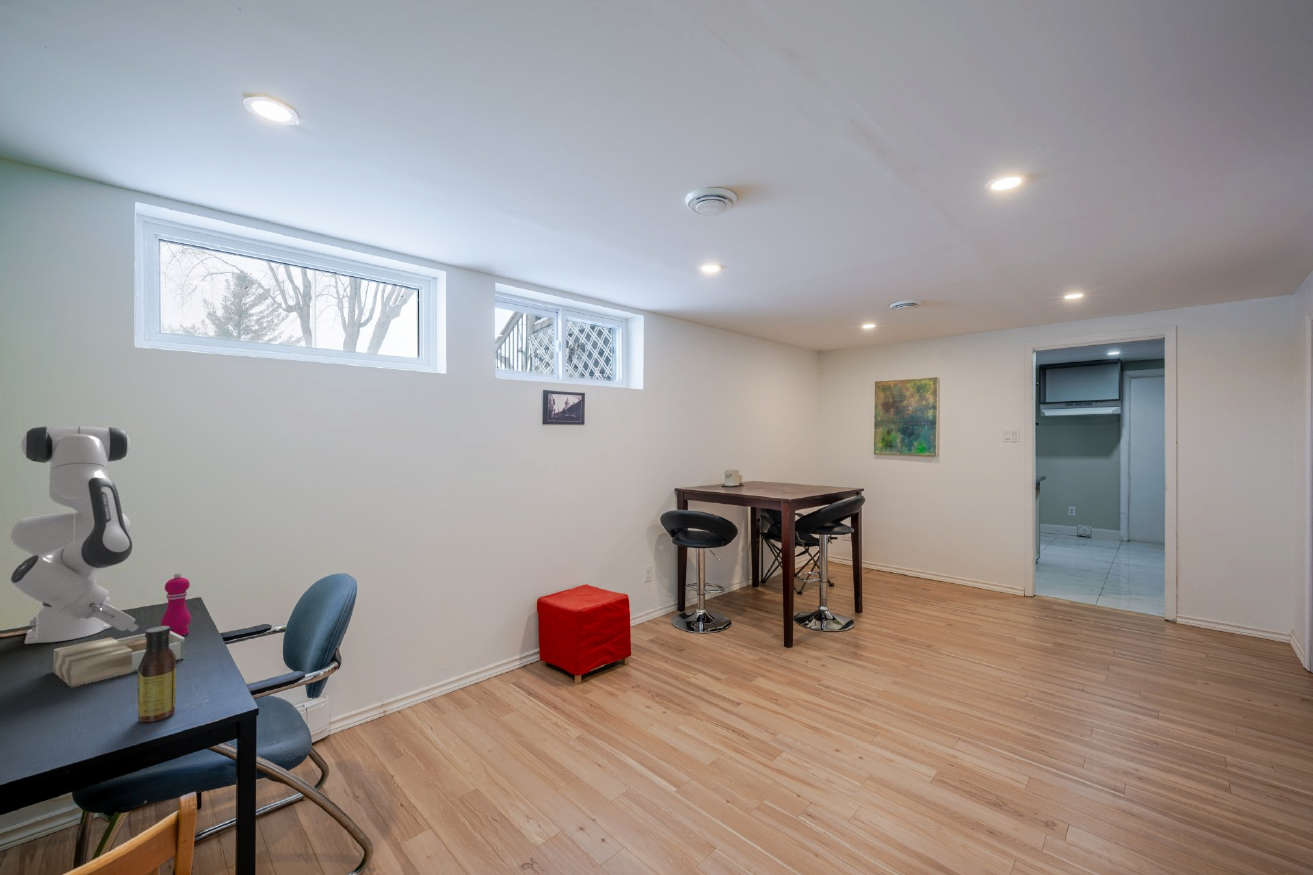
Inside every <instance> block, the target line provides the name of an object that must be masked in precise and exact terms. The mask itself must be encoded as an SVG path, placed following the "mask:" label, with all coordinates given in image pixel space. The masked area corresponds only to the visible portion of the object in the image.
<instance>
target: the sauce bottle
mask: <svg viewBox="0 0 1313 875" xmlns="http://www.w3.org/2000/svg"><path fill="white" fill-rule="evenodd" d="M169 633H170V627H169V626H161V625H160V626H159V625H158V626H155V627H151V628H148V629H146V630H145V633H144V634H145V637H146V651H145V654H144V656H143V658H142V661H141V663H140V665H139V668H138V671H137V679H138V680H137V715H138V720H139V722H140V723H141V722H142V723H151V722H158V721H159V722H160V721H162V720H164V719H166V718H168V717H171V716H172V715H174V714H175V711H176V705H177V666H176V662H177V661H176V657H175V654H174V652H173V651H172V650H171V649H170V648H169Z"/></svg>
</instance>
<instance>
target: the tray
mask: <svg viewBox="0 0 1313 875" xmlns="http://www.w3.org/2000/svg"><path fill="white" fill-rule="evenodd" d="M141 638H145V633H142V634H136V635H132V636H128V637H123V638H118V639H116V640H117V641H118V642H120V643H122V642H127V641H132V640H136V639H141ZM185 641H186V638H185V637H184V636H180V635H178V634H176V633H174V632H172V631H170V633H169V648H170V649H171V650H172V651H173V652H174V654H175V657H176V660H179V661H182V660H181V659H183V660H184V659H185V644H186V642H185ZM145 651H146V650H143V651H138V652H134V653H132V673H135V671H136V672H138V668H139V665H140V663H141V661H142V658H143V656H144V654H145Z"/></svg>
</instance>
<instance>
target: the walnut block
mask: <svg viewBox="0 0 1313 875" xmlns="http://www.w3.org/2000/svg"><path fill="white" fill-rule="evenodd" d="M122 644H123V645H125V646H127V647H128V648H130V649H132V653H134V652H138V651H143V650H146V637H145V638H141V639H136V640H132V641H127V642H122Z"/></svg>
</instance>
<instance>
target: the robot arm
mask: <svg viewBox="0 0 1313 875" xmlns="http://www.w3.org/2000/svg"><path fill="white" fill-rule="evenodd" d="M20 446H21V451H22V452H23V454H24V455H25V458H26V459H27V460H30V461H31V462H35V463H42V464H46V463H50V467H49V491H48V492H49V493H48V494H49V495H48V496H49V497H50V499H51V500H52V501H53V502H55V504H59V505H61V506H64V507H67V508H71V509H74V510H75V511H76V512H73V513H52V514H40V515H35V516H31V517H30V516H29V517H25V518H22V519H20V520H19V521H18V522H17V523H16V524H15V525H14V526H13V527H12V529H11V532H10V538H11V541H12V543H13V544H14V545H15V546H16V547H17V548H19V549H20V550H23V551H25V552H28V553H29V554H31V555H32V556H30V557H29V558H26V559H25V560H24V561H23V562H22V563H20V564H18V566H17V567H16V568H15V570H14V571H13V572H12V574H11V576H10V581H11V583H12V585H13V586H14V587H15V588H17V589H18V590H19V591H20V592H22V593H23V594H25V595H26V596H28V597H30V598H33V599H34V600H36V601H38V602H41V603H42V608H40V611H39V612H38V614H36V616H33V617H31V618H29V626H30V627H32V628H31V629H29V630H27V633H26V636H25V640H24V644H25V645H27V644H28V645H29V644H37V643H38V644H39V643H56V642H63V641H64V642H65V641H69V640H75V639H80V638H81V639H82V638H85V637H88V636H92V635H96V634H97V633H99V632H102V631H104V630H106V629H109V628H112V627H113V628H115V629H117V630H118V631H120V632H124V631H126V630H128V631H129V632H132V633H134V632H135V631H136V630H137V629H138V628H139V625H138V624H135V621H136V619H135V618H134V617H132V616H131V615H129V614H127V613H126V612H124V611H122V610H120V609H119V608H117V607H116V606H115V607H114V606H113V605H111V604H109V603H110V601H111V598H110V597H109V594H110V591H109V590H108V589H106V588H104V587H103V586H101V585H99V584H98V583H97V582H98V572H99V571H101V570H102V569H105V568H108V567H109V568H110V567H112V566H115V565H118V564H121V563H123V562H125V561H126V560H127V559H128V558H129V557H130V555H131V554H132V550H133V542H132V538H131V536H130V535H129V533H130V530H131V521H130V519H129V517H128V516H127V515H126V514H124V513H123V511H122V507H121V506H122V505H121V501H120V496H119V492H118V488H117V485H115V483H114V482H113V480H112V479H111V480H110V479H109V470H108V462H109V463H110V462H115V461H121V460H122V459H124V458H125V457H127V454H128V453H129V451H130V450H131V440H130V438H129V436H128V433H127V432H126V431H125V430H124V429H121V428H117V427H112V426H111V427H109V428H108V427H100V426H99V427H98V426H88V425H87V426H86V425H85V426H83V425H82V426H81V425H79V426H55V427H48V426H38V427H32V428H31V429H29V430H28V431H26V434H24V437H23V438H22V440H21V445H20Z"/></svg>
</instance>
